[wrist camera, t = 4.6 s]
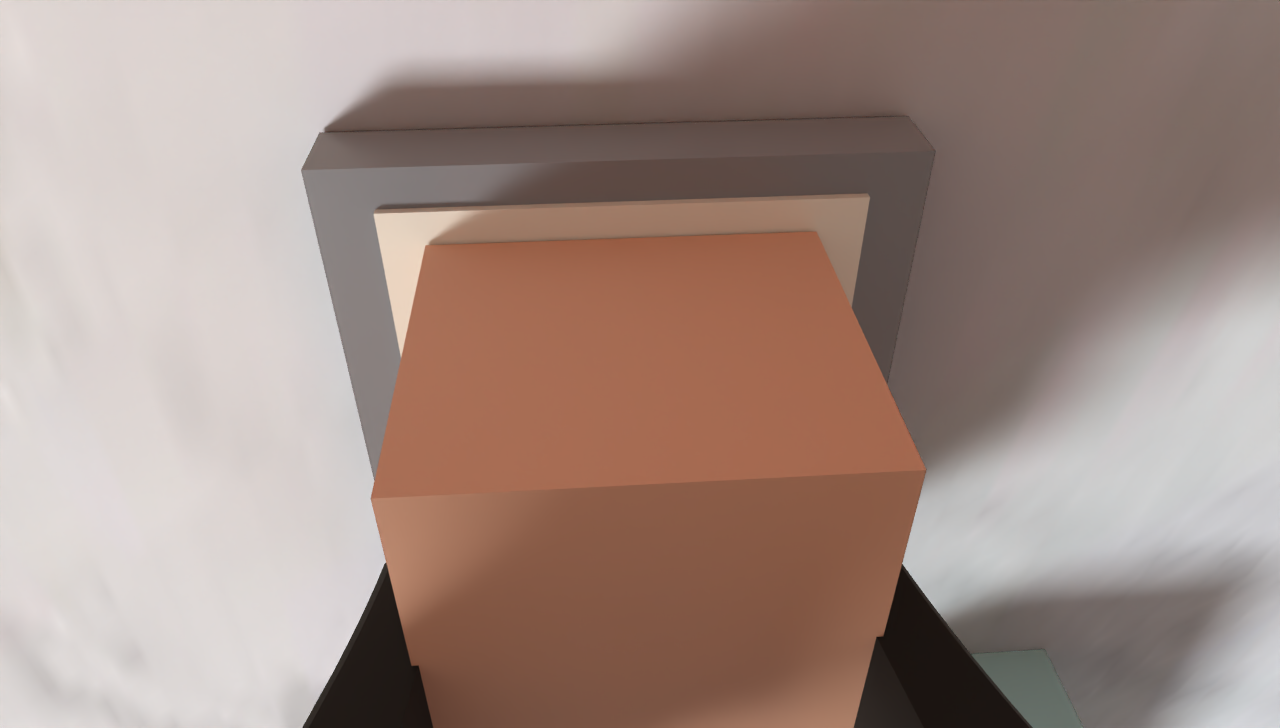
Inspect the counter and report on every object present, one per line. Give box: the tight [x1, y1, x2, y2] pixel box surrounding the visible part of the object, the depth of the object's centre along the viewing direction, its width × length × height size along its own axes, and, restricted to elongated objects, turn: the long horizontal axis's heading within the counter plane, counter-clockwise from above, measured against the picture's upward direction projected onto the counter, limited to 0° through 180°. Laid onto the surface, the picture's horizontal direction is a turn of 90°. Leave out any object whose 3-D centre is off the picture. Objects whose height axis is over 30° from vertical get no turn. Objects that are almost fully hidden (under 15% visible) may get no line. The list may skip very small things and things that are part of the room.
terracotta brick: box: [371, 232, 926, 728], centre depth 11 cm, size 7×4×4 cm, turn 0°
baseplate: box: [301, 116, 935, 481], centre depth 13 cm, size 9×7×1 cm
